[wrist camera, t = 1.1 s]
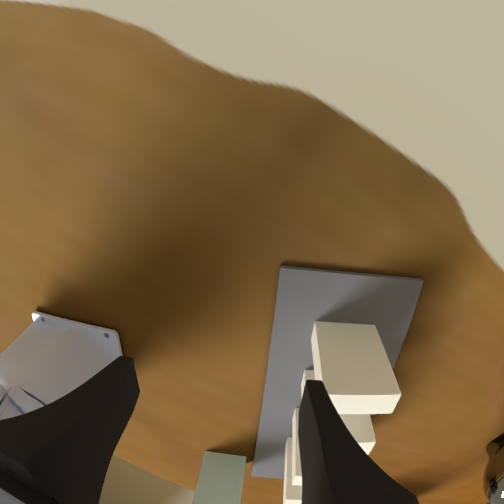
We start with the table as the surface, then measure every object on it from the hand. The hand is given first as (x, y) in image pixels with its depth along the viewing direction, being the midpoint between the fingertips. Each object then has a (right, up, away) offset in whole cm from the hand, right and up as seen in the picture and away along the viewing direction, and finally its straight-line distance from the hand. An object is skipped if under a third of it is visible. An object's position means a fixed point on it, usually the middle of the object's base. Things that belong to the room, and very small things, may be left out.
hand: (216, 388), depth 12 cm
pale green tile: (-1, -16, +17) cm, 24 cm away
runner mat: (+7, -8, +13) cm, 17 cm away
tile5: (+8, 0, +9) cm, 12 cm away
